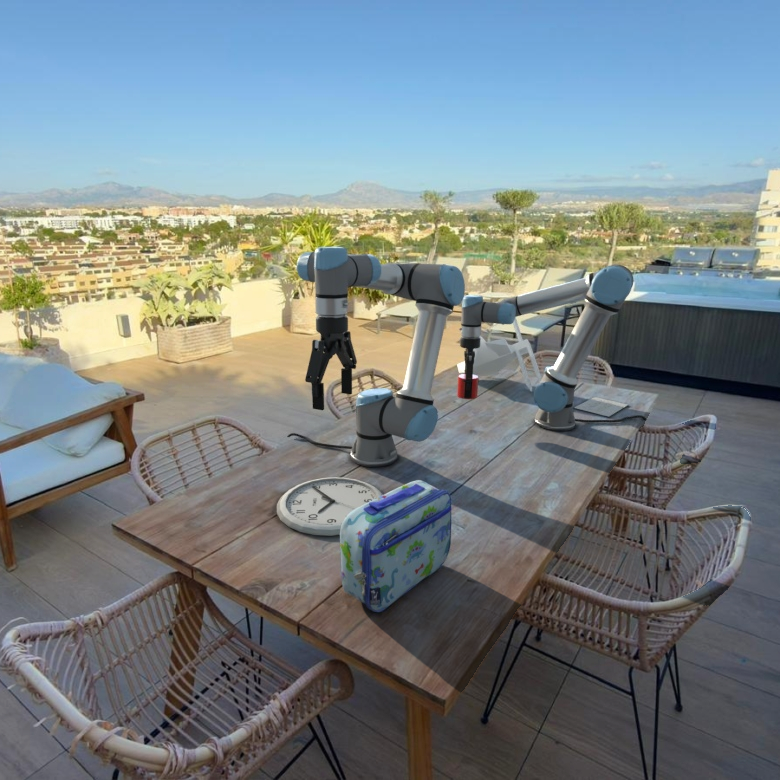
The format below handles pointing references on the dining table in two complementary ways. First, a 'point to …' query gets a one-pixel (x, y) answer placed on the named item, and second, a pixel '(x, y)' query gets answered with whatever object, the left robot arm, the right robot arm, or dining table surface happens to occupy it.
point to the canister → (462, 386)
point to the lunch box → (394, 543)
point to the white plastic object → (502, 357)
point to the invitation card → (601, 406)
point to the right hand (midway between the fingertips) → (467, 394)
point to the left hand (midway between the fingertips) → (333, 401)
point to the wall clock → (323, 504)
